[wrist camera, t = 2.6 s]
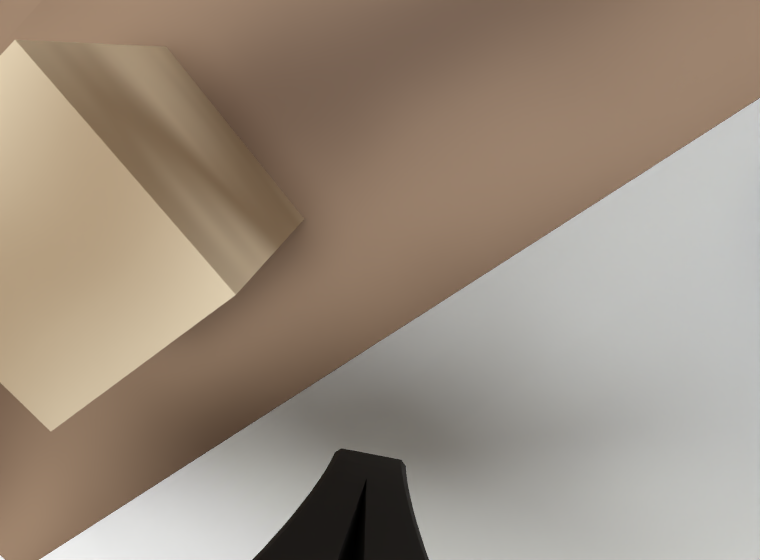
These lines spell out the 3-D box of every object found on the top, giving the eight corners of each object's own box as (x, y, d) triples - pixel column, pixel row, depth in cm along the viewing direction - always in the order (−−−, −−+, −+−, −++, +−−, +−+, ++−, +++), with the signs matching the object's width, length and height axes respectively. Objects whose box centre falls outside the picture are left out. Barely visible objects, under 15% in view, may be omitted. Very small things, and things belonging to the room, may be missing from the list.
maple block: (304, 219, 12) (236, 294, 8) (166, 322, 13) (50, 431, 9) (166, 46, 11) (14, 40, 7) (32, 175, 12) (-159, 229, 8)
